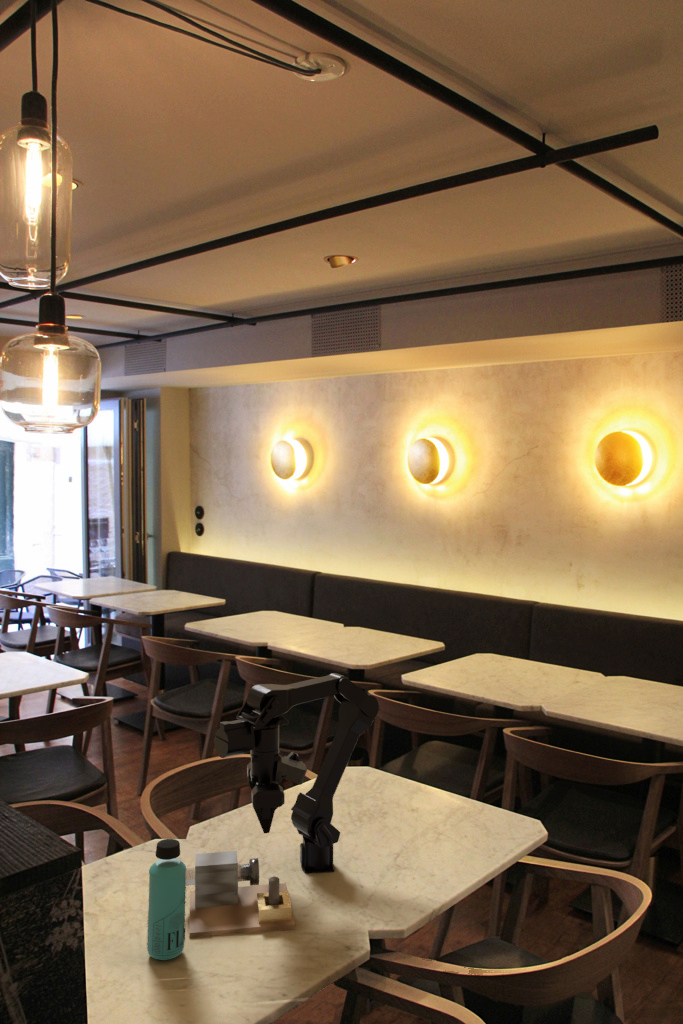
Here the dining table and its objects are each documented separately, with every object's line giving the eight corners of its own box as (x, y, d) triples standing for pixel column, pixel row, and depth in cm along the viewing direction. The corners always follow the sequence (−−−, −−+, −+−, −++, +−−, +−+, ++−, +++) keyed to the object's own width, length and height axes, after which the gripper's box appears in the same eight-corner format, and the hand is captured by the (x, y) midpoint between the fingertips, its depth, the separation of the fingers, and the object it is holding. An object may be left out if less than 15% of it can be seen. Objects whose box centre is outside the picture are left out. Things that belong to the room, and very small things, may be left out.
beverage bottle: (165, 974, 132) (169, 854, 131) (137, 960, 135) (140, 844, 135) (192, 955, 137) (196, 840, 137) (164, 943, 141) (168, 831, 140)
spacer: (288, 903, 152) (288, 891, 152) (291, 920, 146) (291, 907, 146) (256, 906, 151) (256, 893, 151) (258, 923, 145) (258, 910, 145)
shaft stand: (286, 888, 160) (286, 843, 160) (295, 929, 145) (295, 880, 145) (190, 896, 156) (190, 851, 156) (189, 939, 142) (189, 889, 141)
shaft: (257, 877, 157) (257, 853, 157) (259, 889, 152) (259, 865, 152) (182, 883, 154) (182, 859, 154) (181, 896, 150) (181, 871, 150)
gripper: (310, 761, 154) (309, 840, 155) (298, 732, 173) (298, 803, 173) (253, 764, 152) (252, 844, 153) (247, 734, 171) (246, 806, 171)
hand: (264, 823), depth 163 cm, fingers open, 9 cm apart
